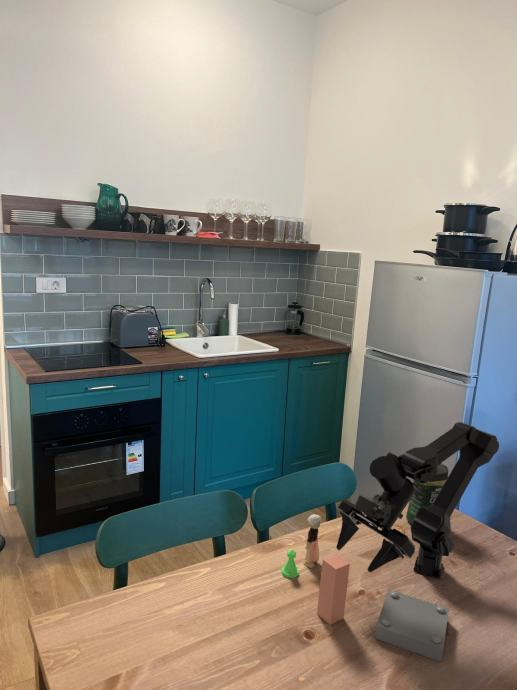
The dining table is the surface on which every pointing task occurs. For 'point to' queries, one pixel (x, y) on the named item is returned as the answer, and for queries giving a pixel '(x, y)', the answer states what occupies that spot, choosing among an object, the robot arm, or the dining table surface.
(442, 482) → the coffee jar
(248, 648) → the dining table surface
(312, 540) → the grandmother figurine
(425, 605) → the base brick
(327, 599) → the pillar brick
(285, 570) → the game piece
